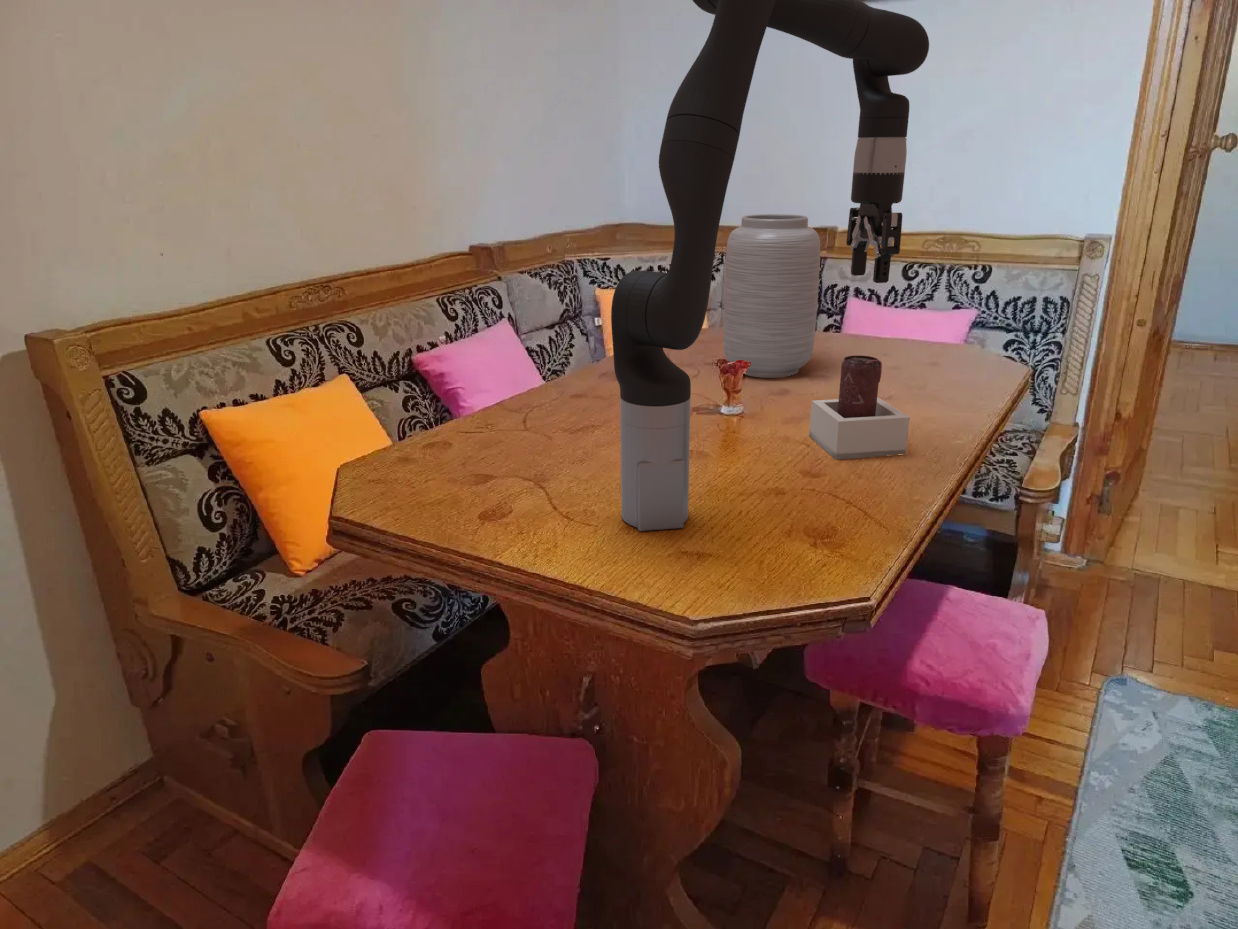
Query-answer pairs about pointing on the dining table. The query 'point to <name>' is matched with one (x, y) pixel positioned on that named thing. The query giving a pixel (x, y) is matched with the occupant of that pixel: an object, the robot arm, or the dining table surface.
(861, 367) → the can
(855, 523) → the dining table surface
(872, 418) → the well
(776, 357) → the vase
